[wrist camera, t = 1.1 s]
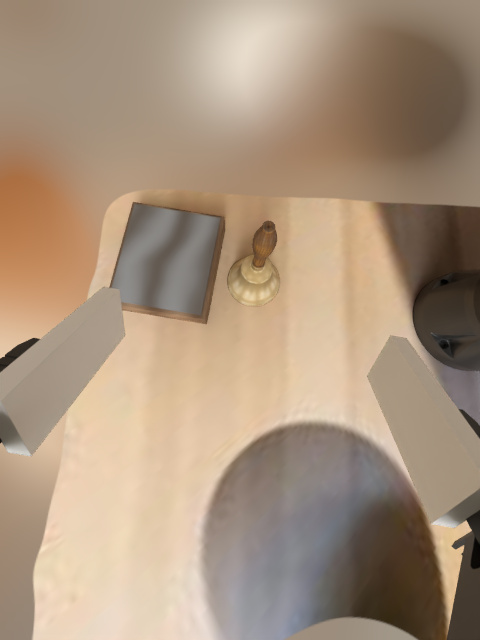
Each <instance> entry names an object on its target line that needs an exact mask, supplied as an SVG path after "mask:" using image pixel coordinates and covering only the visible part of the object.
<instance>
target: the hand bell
mask: <svg viewBox="0 0 480 640" xmlns="http://www.w3.org/2000/svg"><path fill="white" fill-rule="evenodd" d="M276 242H277V234H276V230H275V224H274V223H273V222H272V221H266V222H264V223H263V225H262V226H261V227H260V228H259V229H258V230H257V231H256V233H255V235H254V238H253V251H254V253H255V254H252V255H249V256H248V257H246V258H243V259H241V260H239V261H238V262H236V263H235V264H234V265H233V266H232V268H231V269H230V271H229V274H228V279H227V283H228V288H229V291H230V293H231V295H232V296H233V297H234V298H235V299H236V300H237V301H238V302H240V303H241V304H244V305H247V306H253V307H256V306H262V305H265V304H267V303H268V302H270V301H271V300H272V299H273V298H274V297H275V296H276V294H277V292H278V290H279V286H280V278H279V274H278V272H277V270H276V268H275V267H274V266H273V265H272V264H271V262H270V261H269V259H268V258H266V257H268V256H269V255H270V254H271V253H272V252H273V250H274V248H275V246H276Z"/></svg>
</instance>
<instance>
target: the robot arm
mask: <svg viewBox="0 0 480 640" xmlns="http://www.w3.org/2000/svg"><path fill="white" fill-rule="evenodd" d="M413 318H414V325H415V329H416V332H417V335H418V337H419V339H420V341H421V342H422V344H423V346H424V347H425V348H426V349H427V351H428V352H429V353H430V354H431V355H432V356H433V357H435V358H436V359H437V360H439V361H440V362H442V363H443V364H445V365H447V366H449V367H452V368H455V369H459V370H465V371H480V270H468V271H458V272H453V273H449V274H446V275H444V276H442V277H440V278H437V279H435V280H433V281H431V282H430V283H429V284H427V285H426V286H425V287H424V288H423V289H422V290H421V292H420V293H419V295H418V297H417V299H416V302H415V305H414V312H413ZM124 336H125V330H124V322H123V314H122V306H121V298H120V290H119V289H114V288H108V287H103V288H101V289H100V290H99V291H98V292H97V293H95V294H94V295H93V296H92V297H91V298H89V299H88V300H87V301H86V302H85V303H83V304H82V305H81V306H80V307H79V308H77V309H76V310H75V311H74V312H73V313H72V314H70V315H69V316H68V317H67V318H66V319H64V320H63V321H62V322H61V323H59V324H58V325H57V326H56V327H55V328H53V329H52V330H51V331H50V332H48V333H47V334H46V335H45V336H44V337H42V338H41V339H37V338H32V339H30V340H28V341H26V342H24V343H21V344H19V345H17V346H16V347H15V348H13V349H12V350H11V351H10V352H8V353H7V354H6V355H5V357H2V358H1V359H0V443H1V442H2V443H3V445H4V446H5V448H6V450H7V451H8V452H9V453H16V454H21V455H27V456H32V455H33V454H34V452H35V451H36V450H37V449H38V447H39V446H40V445H41V443H42V442H43V441H44V440H45V438H46V437H47V436H48V434H49V433H50V432H51V430H52V429H53V428H54V427H55V425H56V424H57V423H58V421H59V420H60V419H61V418H62V416H63V415H64V414H65V412H66V411H67V410H68V408H69V407H70V406H71V405H72V403H73V402H74V401H75V399H76V398H77V397H78V396H79V394H80V393H81V392H82V390H83V389H84V388H85V387H86V385H87V384H88V383H89V381H90V380H91V379H92V377H93V376H94V375H95V374H96V372H97V371H98V370H99V368H100V367H101V366H102V365H103V363H104V362H105V361H106V359H107V358H108V357H109V355H110V354H111V353H112V352H113V350H114V349H115V348H116V346H117V345H118V344H119V343H120V341H121V340H122V339H123V337H124ZM367 377H368V380H369V382H370V384H371V387H372V389H373V391H374V393H375V396H376V398H377V400H378V403H379V405H380V407H381V410H382V412H383V414H384V417H385V419H386V421H387V423H388V426H389V428H390V430H391V433H392V435H393V437H394V440H395V442H396V444H397V447H398V449H399V451H400V453H401V456H402V458H403V460H404V463H405V465H406V467H407V470H408V472H409V474H410V477H411V479H412V481H413V483H414V486H415V488H416V490H417V493H418V495H419V497H420V500H421V502H422V504H423V507H424V509H425V511H426V513H427V516H428V518H429V520H430V523H431V524H434V525H440V526H446V527H452V528H455V527H456V526H458V525H459V524H461V523H463V522H464V521H466V520H467V522H468V524H469V526H470V528H471V529H472V531H471V532H470V533H468V534H466V535H465V536H463V537H461V538H460V539H458V540H456V541H455V542H454V543H453V545H452V547H453V548H454V549H457V548H459V547H461V546H463V545H465V546H464V551H463V553H462V555H463V557H462V562H461V567H460V573H459V578H458V583H457V588H456V594H455V599H454V604H453V610H452V615H451V620H450V625H449V631H448V636H447V640H480V426H479V424H478V423H477V422H476V421H475V420H474V419H473V418H471V417H470V416H469V415H468V414H467V413H466V412H465V411H463V410H460V409H458V408H457V407H456V406H455V404H454V403H453V402H452V400H451V399H450V397H449V396H448V395H447V393H446V392H445V391H444V389H443V388H442V386H441V385H440V384H439V382H438V381H437V380H436V378H435V377H434V375H433V374H432V373H431V371H430V370H429V369H428V367H427V366H426V365H425V363H424V362H423V360H422V359H421V358H420V356H419V355H418V354H417V352H416V351H415V349H414V348H413V347H412V345H411V344H410V343H409V341H408V340H407V338H403V337H397V336H391V335H390V337H389V339H388V341H387V342H386V344H385V346H384V348H383V349H382V351H381V353H380V355H379V356H378V358H377V360H376V361H375V363H374V365H373V367H372V368H371V370H370V372H369V374H368V375H367Z"/></svg>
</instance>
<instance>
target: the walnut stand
mask: <svg viewBox="0 0 480 640" xmlns="http://www.w3.org/2000/svg"><path fill="white" fill-rule="evenodd" d="M224 232H225V220H224V217H221V216H215V215H209V214H203V213H197V212H191V211H185V210H179V209H172V208H166V207H160V206H154V205H148V204H142V203H136V202H133V204H132V208H131V211H130V215H129V219H128V222H127V226H126V230H125V233H124V237H123V240H122V244H121V248H120V251H119V255H118V258H117V262H116V266H115V269H114V273H113V277H112V280H111V284H110V287H109V288H114V289H119V290H120V298H121V306H122V310H125V311H131V312H137V313H143V314H149V315H155V316H161V317H167V318H173V319H179V320H185V321H191V322H197V323H203V324H207V320H208V315H209V310H210V305H211V300H212V295H213V289H214V284H215V279H216V274H217V269H218V264H219V258H220V253H221V248H222V243H223V238H224Z"/></svg>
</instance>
